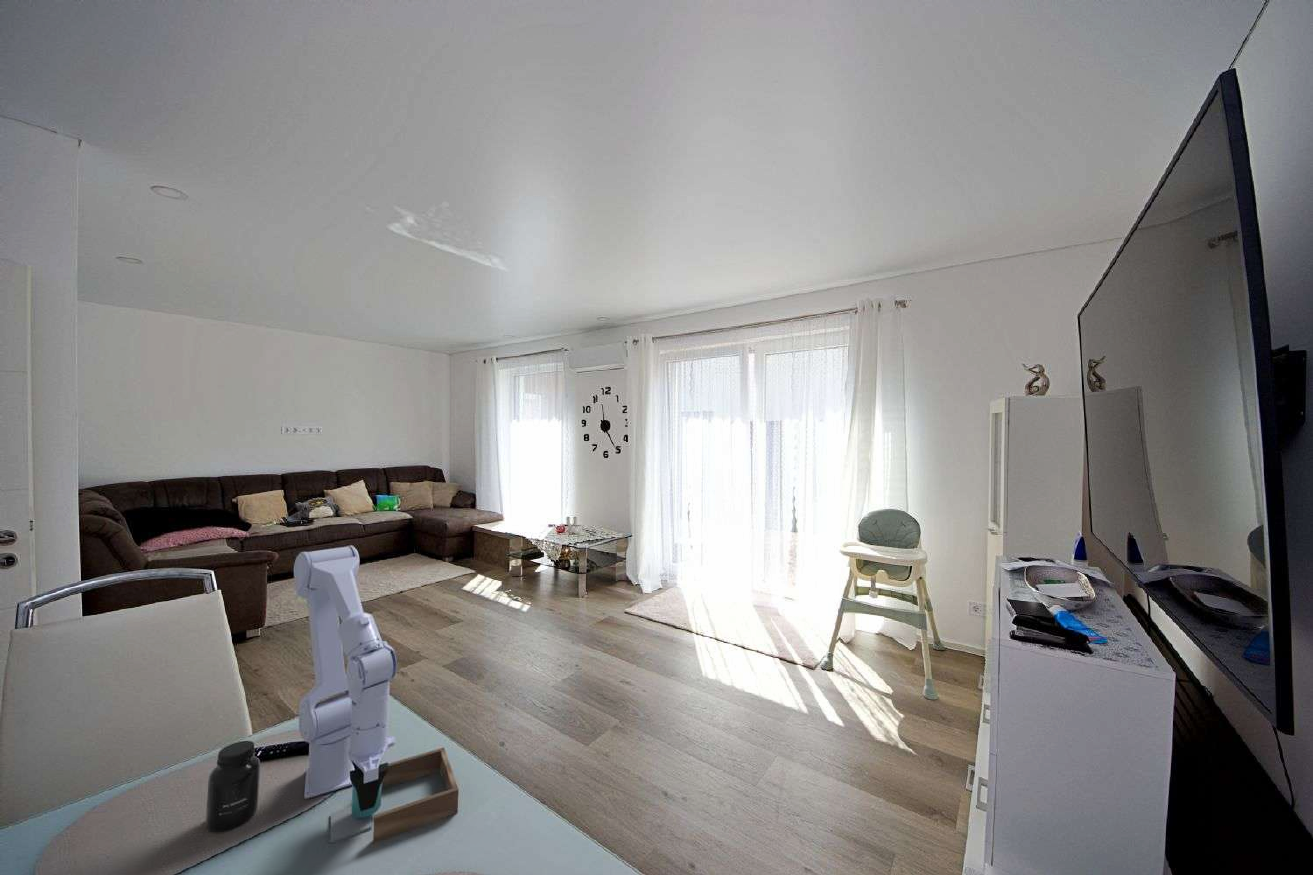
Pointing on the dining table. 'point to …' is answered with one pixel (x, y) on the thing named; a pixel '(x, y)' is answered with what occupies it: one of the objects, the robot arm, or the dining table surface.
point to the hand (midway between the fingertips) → (366, 798)
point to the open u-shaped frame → (423, 808)
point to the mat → (347, 824)
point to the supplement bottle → (233, 788)
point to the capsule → (365, 813)
